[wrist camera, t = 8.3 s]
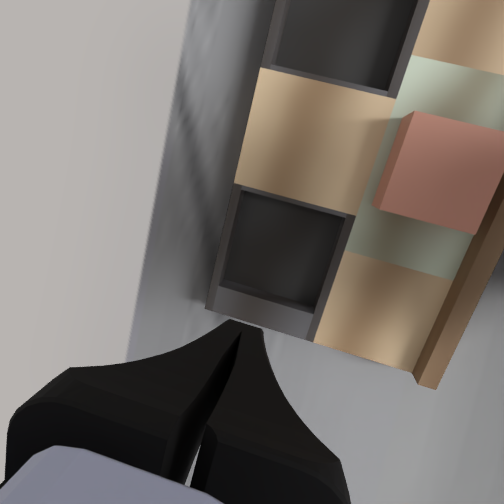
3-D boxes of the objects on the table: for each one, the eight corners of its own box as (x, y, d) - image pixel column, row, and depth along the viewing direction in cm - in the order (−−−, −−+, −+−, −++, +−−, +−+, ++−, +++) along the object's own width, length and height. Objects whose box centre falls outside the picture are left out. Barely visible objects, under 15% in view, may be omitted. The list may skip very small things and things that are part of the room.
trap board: (605, -45, 15) (665, -89, 12) (420, 363, 21) (435, 390, 18) (305, -100, 16) (304, -150, 14) (211, 299, 22) (199, 315, 20)
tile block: (494, 139, 16) (520, 135, 14) (456, 227, 17) (475, 234, 15) (402, 117, 16) (414, 110, 14) (371, 205, 18) (379, 209, 16)
